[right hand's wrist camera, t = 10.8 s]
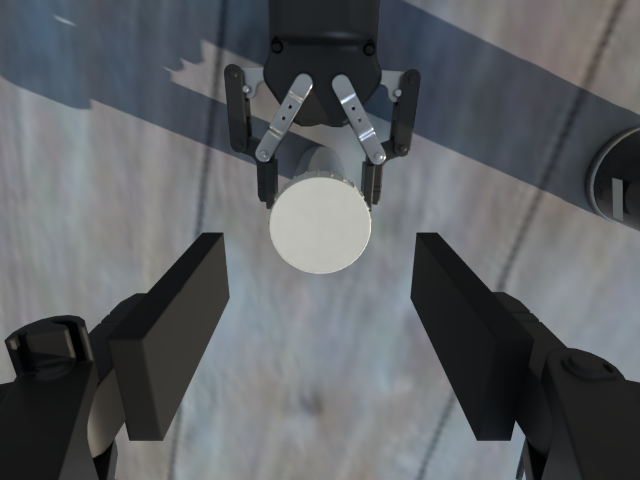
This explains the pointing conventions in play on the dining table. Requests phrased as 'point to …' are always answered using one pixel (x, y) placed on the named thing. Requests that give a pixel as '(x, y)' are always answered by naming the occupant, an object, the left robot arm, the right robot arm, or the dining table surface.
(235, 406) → the dining table surface
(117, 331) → the right robot arm
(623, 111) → the dining table surface
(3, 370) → the dining table surface
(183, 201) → the dining table surface
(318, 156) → the bottle
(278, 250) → the lid
